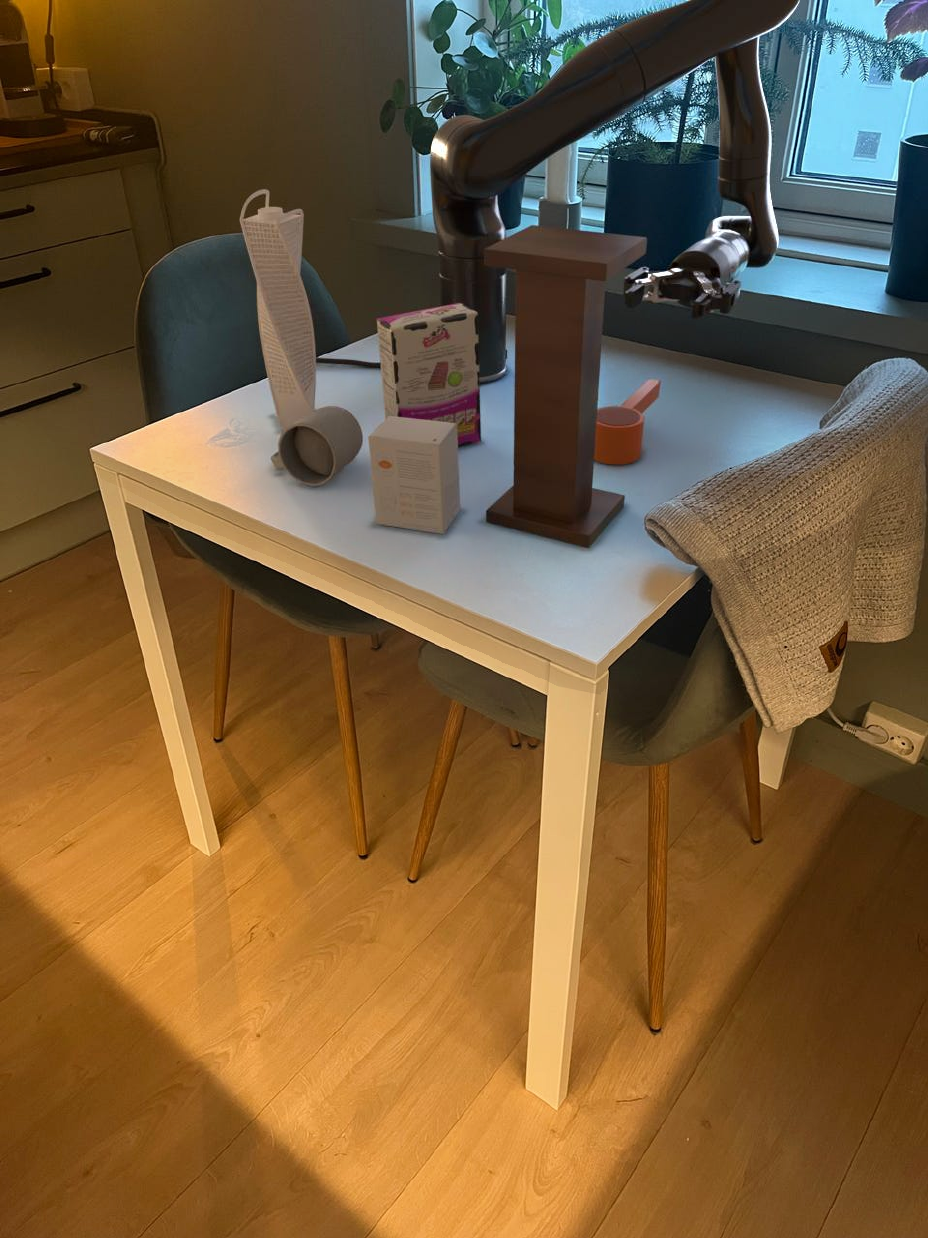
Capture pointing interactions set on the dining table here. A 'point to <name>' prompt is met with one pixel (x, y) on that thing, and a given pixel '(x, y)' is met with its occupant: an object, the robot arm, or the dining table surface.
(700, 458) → the dining table surface
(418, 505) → the small box
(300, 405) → the skyscraper
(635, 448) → the orange measuring cup
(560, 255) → the tall walnut stand
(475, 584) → the dining table surface
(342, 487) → the dining table surface
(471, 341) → the candy bar box
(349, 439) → the ceramic mug
